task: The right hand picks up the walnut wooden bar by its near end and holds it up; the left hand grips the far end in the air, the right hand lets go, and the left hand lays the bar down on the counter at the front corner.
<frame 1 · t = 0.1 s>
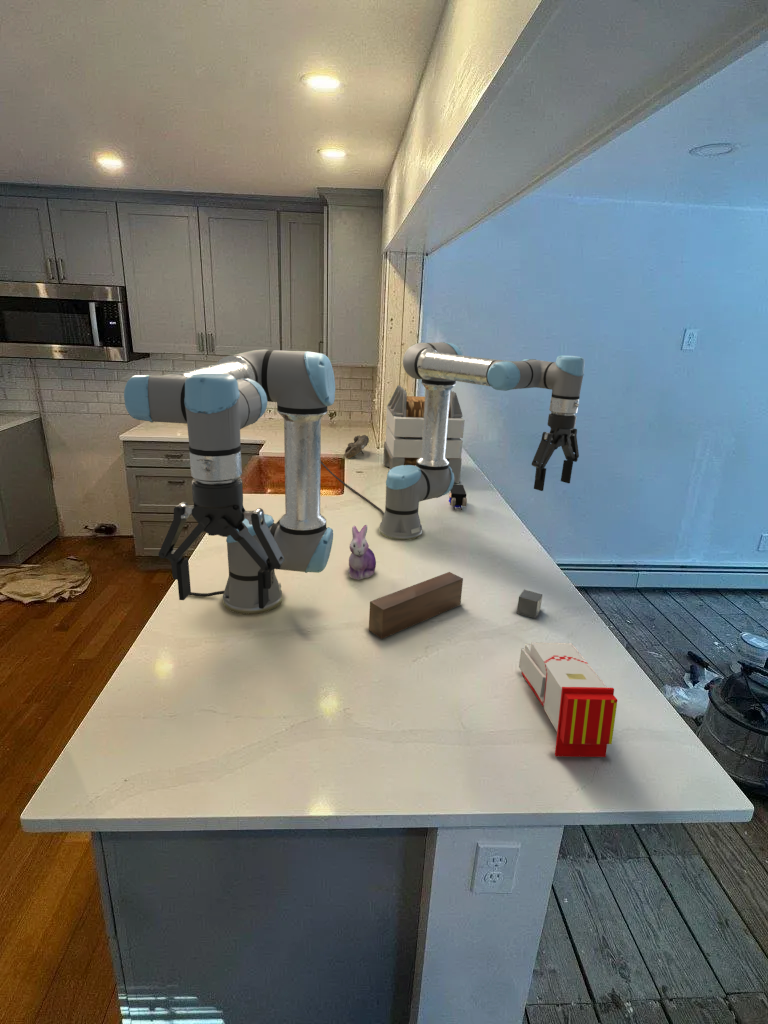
left hand: (224, 600, 94), 28 cm above the counter, fingers open, 13 cm apart
right hand: (552, 486, 166), 28 cm above the counter, fingers open, 13 cm apart
feather: (282, 518, 209), on the counter
figurine: (361, 573, 169), on the counter
slate cube: (528, 612, 151), on the counter
toy: (556, 707, 115), on the counter
figurine character: (456, 506, 231), on the counter
fossil: (356, 454, 305), on the counter
walnut bar: (416, 617, 147), on the counter
grey wooden crate: (419, 473, 275), on the counter
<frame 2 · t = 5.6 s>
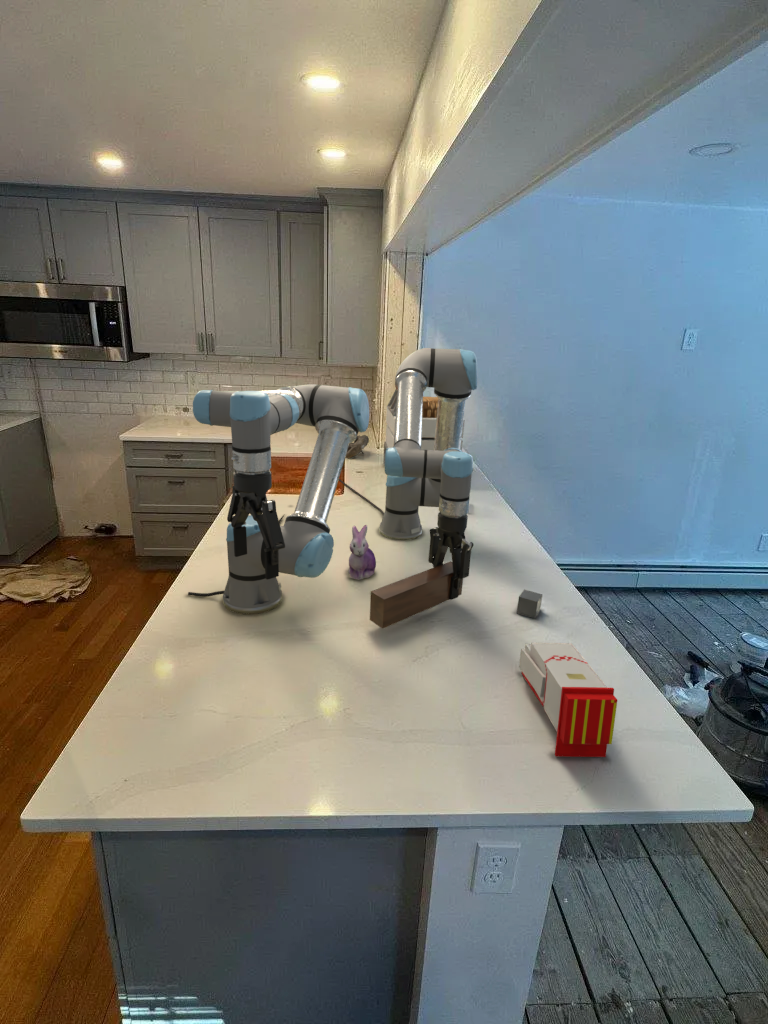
left hand: (255, 565, 121), 22 cm above the counter, fingers open, 13 cm apart
right hand: (445, 593, 152), 3 cm above the counter, fingers closed on walnut bar, 5 cm apart
walnut bar: (417, 606, 146), point 3 cm above the counter, touching right hand
everything else where it was.
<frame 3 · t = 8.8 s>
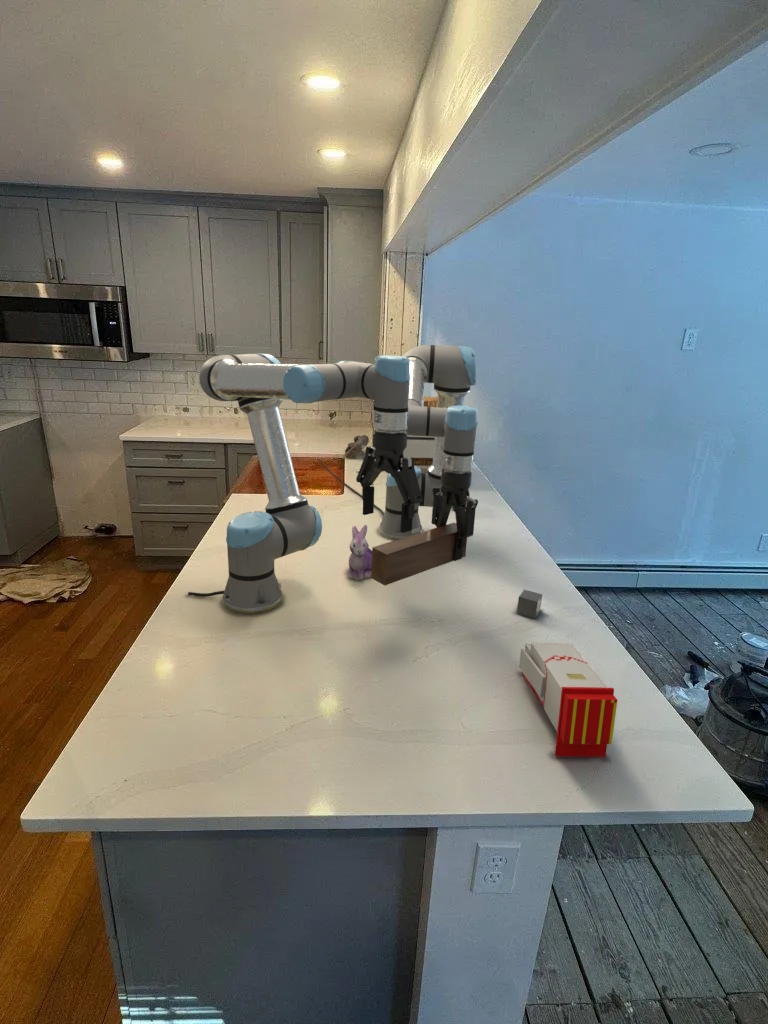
left hand: (386, 522, 129), 29 cm above the counter, fingers open, 13 cm apart
right hand: (449, 555, 148), 15 cm above the counter, fingers closed on walnut bar, 5 cm apart
walnut bar: (420, 566, 142), point 14 cm above the counter, touching right hand
everything else where it was.
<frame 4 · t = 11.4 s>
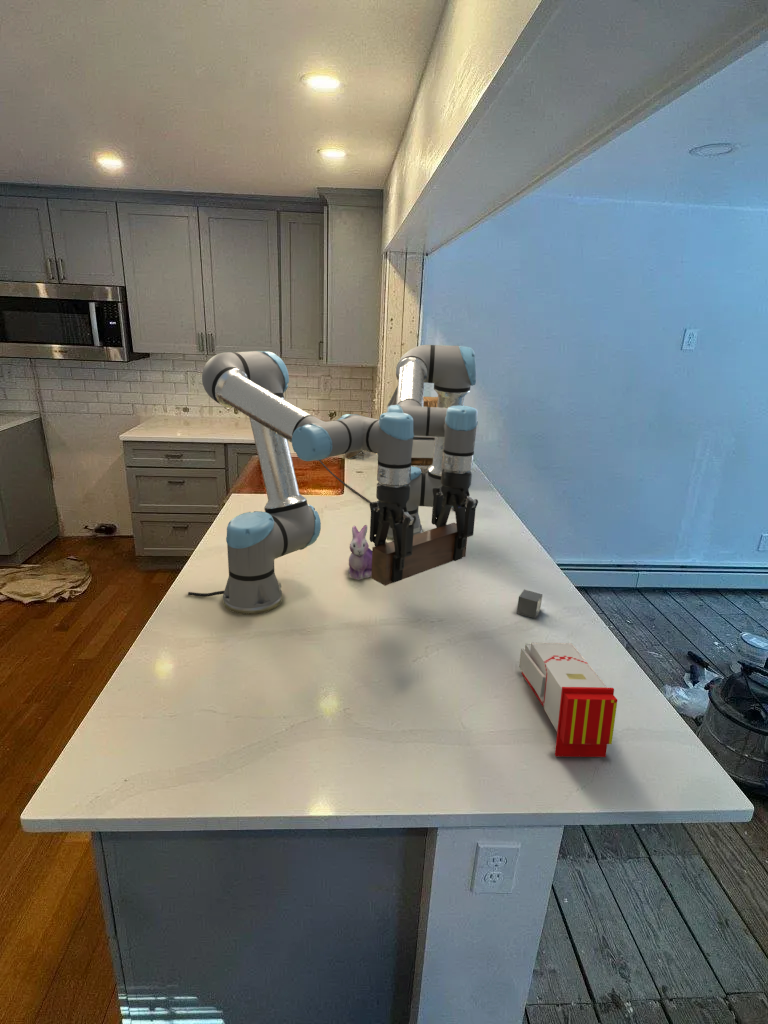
left hand: (388, 576, 135), 15 cm above the counter, fingers closed on walnut bar, 5 cm apart
right hand: (449, 555, 148), 15 cm above the counter, fingers closed on walnut bar, 5 cm apart
walnut bar: (420, 566, 142), point 14 cm above the counter, touching right hand, left hand
everything else where it was.
when the right hand's fingers open (15 cm above the counter, at t = 12.1 s): walnut bar stays where it is, held by the left hand.
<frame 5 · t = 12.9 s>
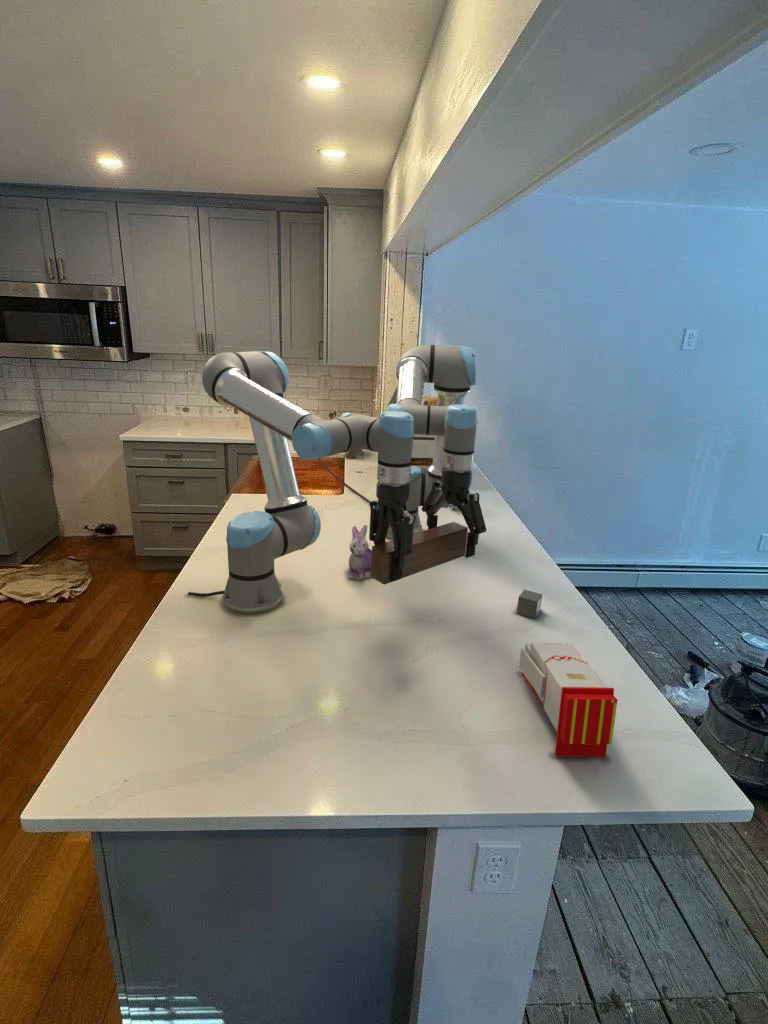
left hand: (388, 575, 135), 15 cm above the counter, fingers closed on walnut bar, 5 cm apart
right hand: (450, 547, 148), 17 cm above the counter, fingers open, 13 cm apart
walnut bar: (420, 565, 142), point 14 cm above the counter, touching left hand
everything else where it was.
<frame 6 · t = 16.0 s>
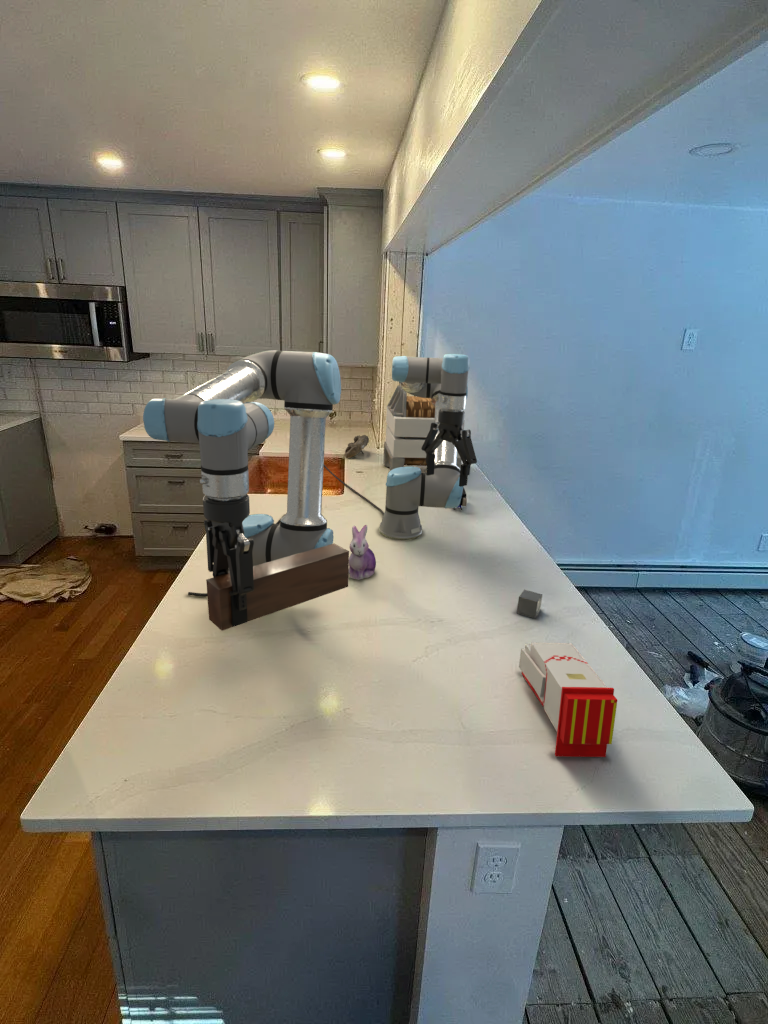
left hand: (232, 616, 102), 21 cm above the counter, fingers closed on walnut bar, 5 cm apart
right hand: (446, 480, 171), 27 cm above the counter, fingers open, 13 cm apart
walnut bar: (283, 602, 109), point 21 cm above the counter, touching left hand
everything else where it was.
when the left hand's fingers open (1 cm above the counter, at t = 20.8 s): walnut bar stays where it is, on the counter.
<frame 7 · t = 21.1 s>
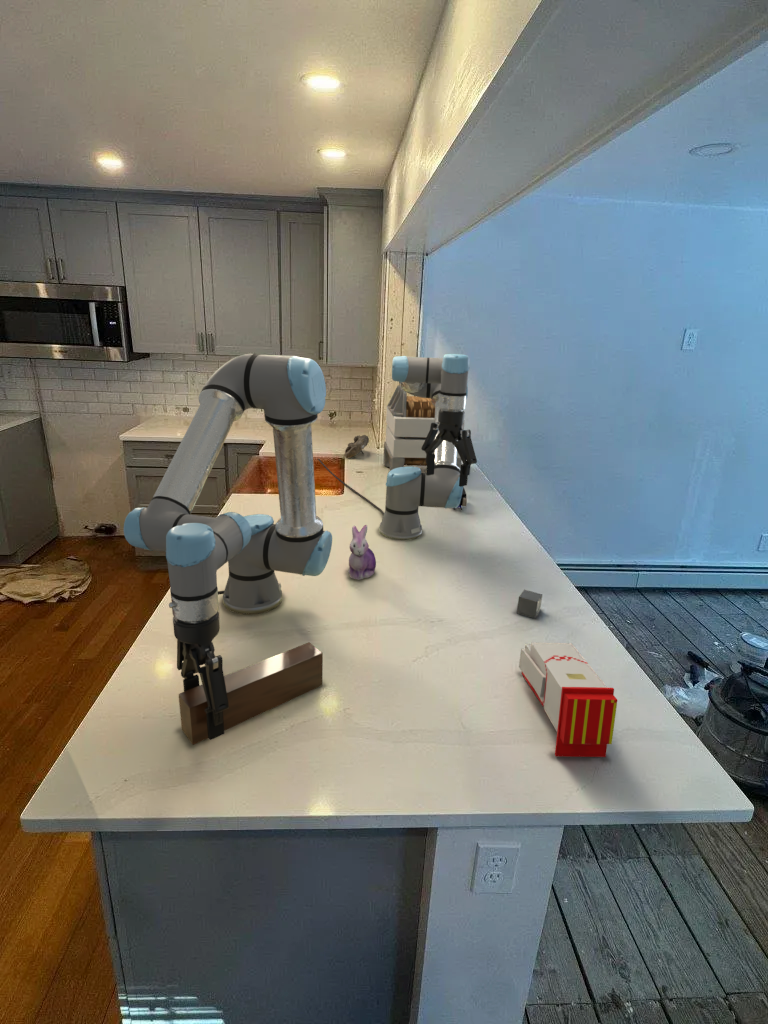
left hand: (204, 720, 104), 2 cm above the counter, fingers open, 9 cm apart
right hand: (446, 480, 171), 27 cm above the counter, fingers open, 13 cm apart
walnut bar: (256, 706, 112), on the counter
everything else where it was.
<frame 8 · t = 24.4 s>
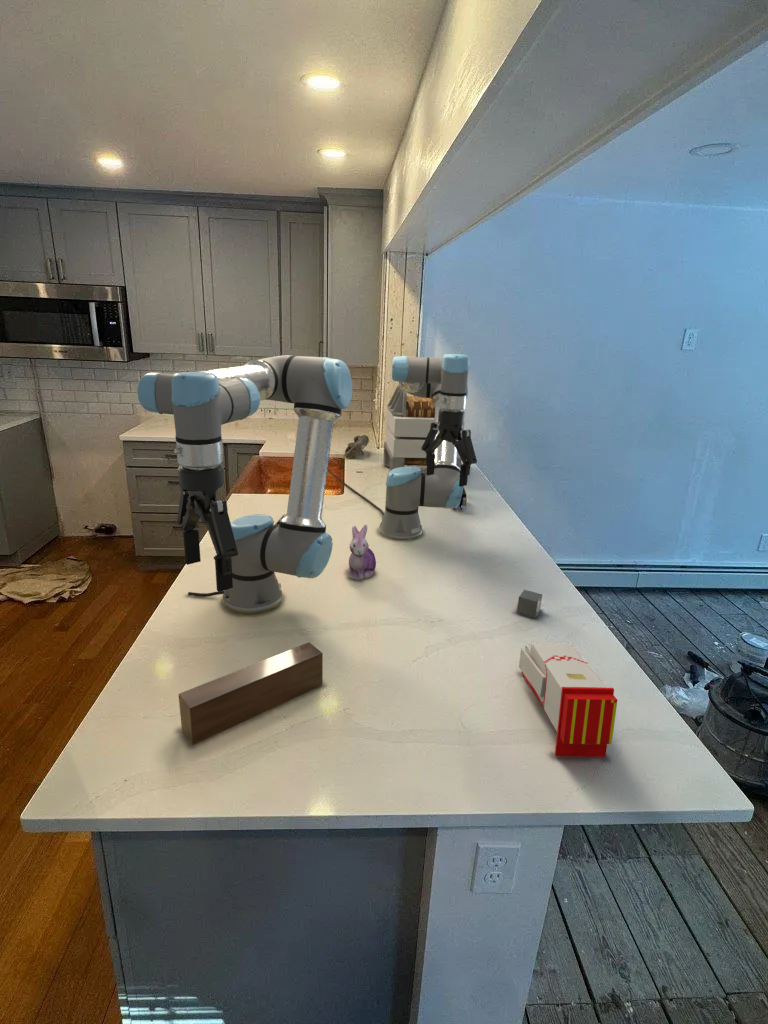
left hand: (208, 575, 105), 27 cm above the counter, fingers open, 13 cm apart
right hand: (446, 480, 171), 27 cm above the counter, fingers open, 13 cm apart
nothing on the counter moved.
at the end: walnut bar inside the target area (0.1 cm from its centre), on the counter; both hands held the walnut bar at the same time; the left hand is holding nothing; the right hand is holding nothing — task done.
